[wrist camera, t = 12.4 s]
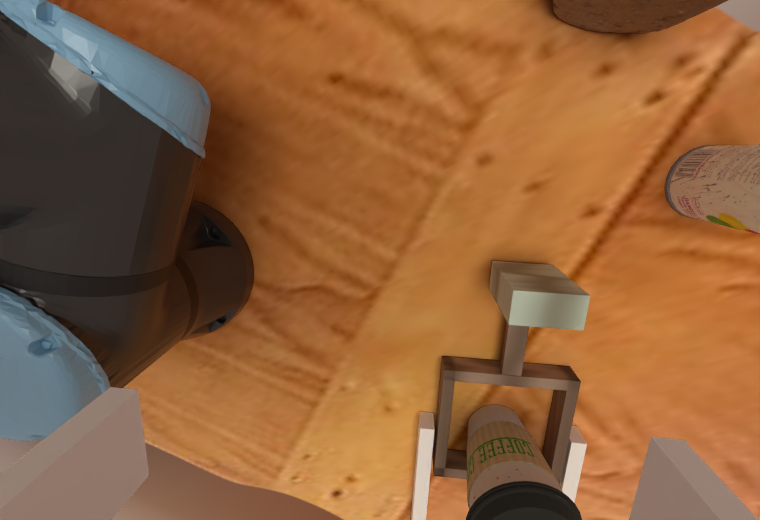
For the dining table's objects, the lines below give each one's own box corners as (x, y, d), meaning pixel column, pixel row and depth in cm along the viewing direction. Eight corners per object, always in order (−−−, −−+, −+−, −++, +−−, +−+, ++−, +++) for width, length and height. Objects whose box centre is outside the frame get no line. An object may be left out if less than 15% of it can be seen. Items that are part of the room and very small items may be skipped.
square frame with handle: (432, 456, 49) (436, 531, 39) (451, 255, 42) (463, 286, 33) (550, 468, 48) (584, 547, 38) (589, 264, 41) (642, 299, 32)
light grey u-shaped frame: (408, 542, 53) (408, 565, 50) (419, 411, 48) (419, 428, 45) (548, 558, 52) (556, 582, 49) (576, 425, 46) (586, 444, 43)
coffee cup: (471, 378, 46) (497, 483, 31) (552, 407, 46) (614, 525, 32) (439, 445, 49) (450, 570, 34) (515, 472, 49) (558, 608, 34)
